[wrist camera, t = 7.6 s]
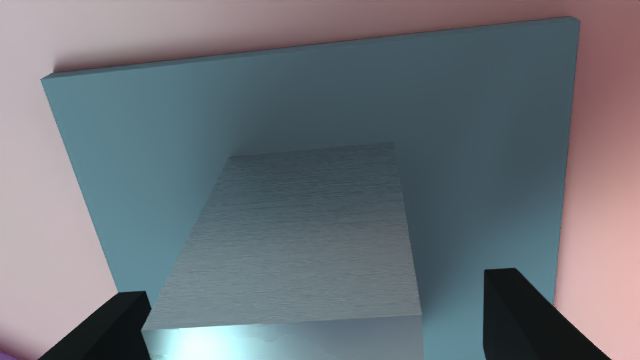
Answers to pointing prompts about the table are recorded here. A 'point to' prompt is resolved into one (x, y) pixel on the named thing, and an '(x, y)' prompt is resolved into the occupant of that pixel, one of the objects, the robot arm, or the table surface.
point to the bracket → (6, 357)
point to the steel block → (295, 264)
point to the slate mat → (344, 130)
